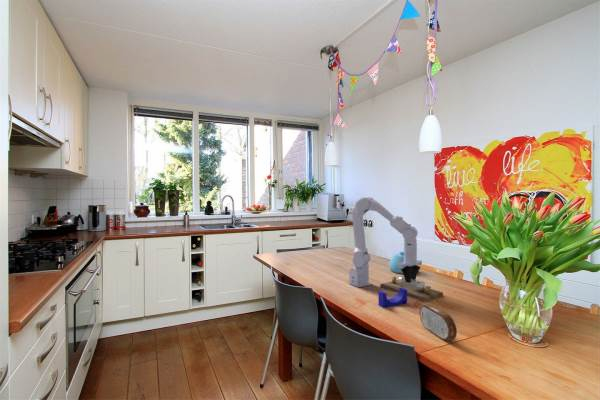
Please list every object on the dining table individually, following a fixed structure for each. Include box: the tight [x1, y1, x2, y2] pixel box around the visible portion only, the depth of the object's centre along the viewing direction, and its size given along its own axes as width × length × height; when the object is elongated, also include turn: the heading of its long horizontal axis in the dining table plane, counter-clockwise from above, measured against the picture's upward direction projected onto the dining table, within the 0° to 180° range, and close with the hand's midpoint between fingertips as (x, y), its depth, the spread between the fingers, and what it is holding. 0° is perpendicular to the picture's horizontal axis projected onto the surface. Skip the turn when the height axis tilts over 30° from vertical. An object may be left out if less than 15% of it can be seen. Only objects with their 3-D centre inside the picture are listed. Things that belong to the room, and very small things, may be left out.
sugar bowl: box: [388, 251, 404, 275], centre depth 179 cm, size 15×15×12 cm
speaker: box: [419, 303, 458, 341], centre depth 98 cm, size 15×3×8 cm, turn 13°
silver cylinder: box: [398, 275, 426, 293], centre depth 141 cm, size 14×4×4 cm, turn 32°
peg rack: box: [379, 276, 444, 303], centre depth 141 cm, size 14×24×4 cm, turn 32°
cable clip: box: [378, 288, 408, 309], centre depth 125 cm, size 12×4×6 cm, turn 111°
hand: (410, 281), depth 141 cm, fingers closed on silver cylinder, 3 cm apart
